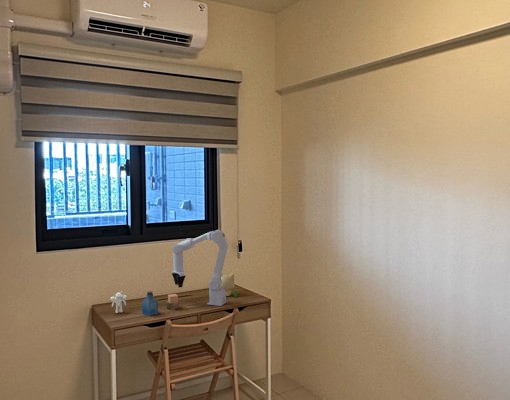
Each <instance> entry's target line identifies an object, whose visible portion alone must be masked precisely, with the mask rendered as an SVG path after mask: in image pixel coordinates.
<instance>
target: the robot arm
mask: <svg viewBox="0 0 510 400" xmlns="http://www.w3.org/2000/svg"><path fill="white" fill-rule="evenodd" d="M204 241H212V242H214V244H216V245H217V246H218V248H219V249H218V252H217V253H218V254H217V256H216V260H215V265H214V270H213V273H212V276H211V279H210V280H209V282H208V287H209V289H208V291H209V292H208V293H209V294H208V295H209V296H208V297H209V301H208V302H207V303H206V305H210V306H217V307H219V306H220V307H221V306H224V304H227V296H226V292H225V290H223V289H221V286H220V285H221V283H222V280H221V274H222V273H223V269H224V264H225V261H226V256H227V252H228V247H229V243H228V241H227V238H226V234H225V233H224V232H223V230H221V229H216V230H212V231H208V232H207V233H204V234H202V235H200V236H197V237H195V238H191V237H190V238H188V237H187V238H186V239H185V240H182V241H179V242H178V243H175V244H174V245H173V246H172V248H171V251H172V253H173V270H171V276H172V277H173V281H174V285H175V286H178V288H183V287H184V282H185V278H186V275H184V252H186V251H187V250H190V249H192V248H194V247H195V245H197V244H199V243H201V242H202V243H203V242H204Z"/></svg>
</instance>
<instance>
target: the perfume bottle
mask: <svg viewBox="0 0 510 400" xmlns="http://www.w3.org/2000/svg"><path fill="white" fill-rule="evenodd" d="M153 293H154V292H153V291H147V292H146V297H144V299H143V301H142V302H141V312H142V313H141V314H142V315H146V316H149V317H150V316H152V315H153V316H154V315H157V314H159V302H158V300H157V299H156V297H153V296H154V294H153Z"/></svg>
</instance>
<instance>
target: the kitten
mask: <svg viewBox="0 0 510 400" xmlns="http://www.w3.org/2000/svg"><path fill="white" fill-rule="evenodd" d="M221 280H222V283H221V285H220V286H221V289H223V290H225V292H226V297H230V296H231V295H233V297H234V298H235V297H238V296H239V295H238V294H239V289H238V288H237V291H236V293H235V292H234V288H235V287H236V286H235V285H236V284H235V274H234V273H233V272H232V273H230V274H222V273H221Z"/></svg>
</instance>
